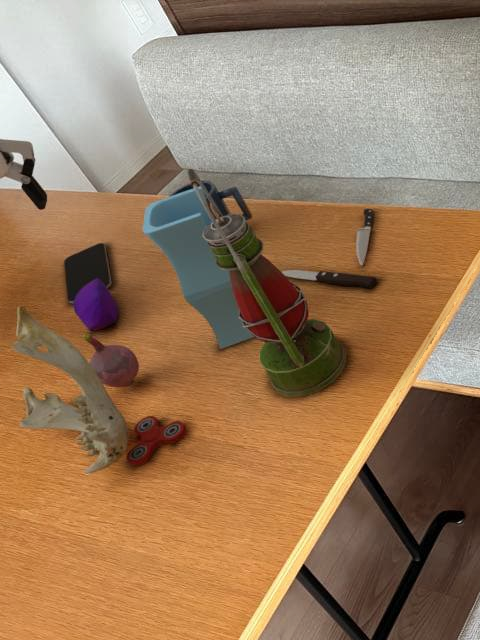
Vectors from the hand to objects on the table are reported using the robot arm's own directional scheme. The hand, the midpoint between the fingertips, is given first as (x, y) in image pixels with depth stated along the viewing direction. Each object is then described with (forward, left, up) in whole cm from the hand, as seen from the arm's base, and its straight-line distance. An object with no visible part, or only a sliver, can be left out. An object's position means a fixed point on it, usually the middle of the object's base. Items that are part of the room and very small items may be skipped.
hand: (11, 217), depth 114 cm
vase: (+25, -16, -19) cm, 35 cm away
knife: (+44, -6, -18) cm, 48 cm away
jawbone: (+7, -27, -16) cm, 32 cm away
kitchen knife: (+37, -14, -19) cm, 43 cm away
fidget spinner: (+12, -35, -18) cm, 41 cm away
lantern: (+33, -31, -19) cm, 49 cm away
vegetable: (+7, -21, -19) cm, 29 cm away
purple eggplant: (+2, 0, -19) cm, 19 cm away
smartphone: (-2, +14, -19) cm, 24 cm away
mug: (+22, +10, -19) cm, 31 cm away
